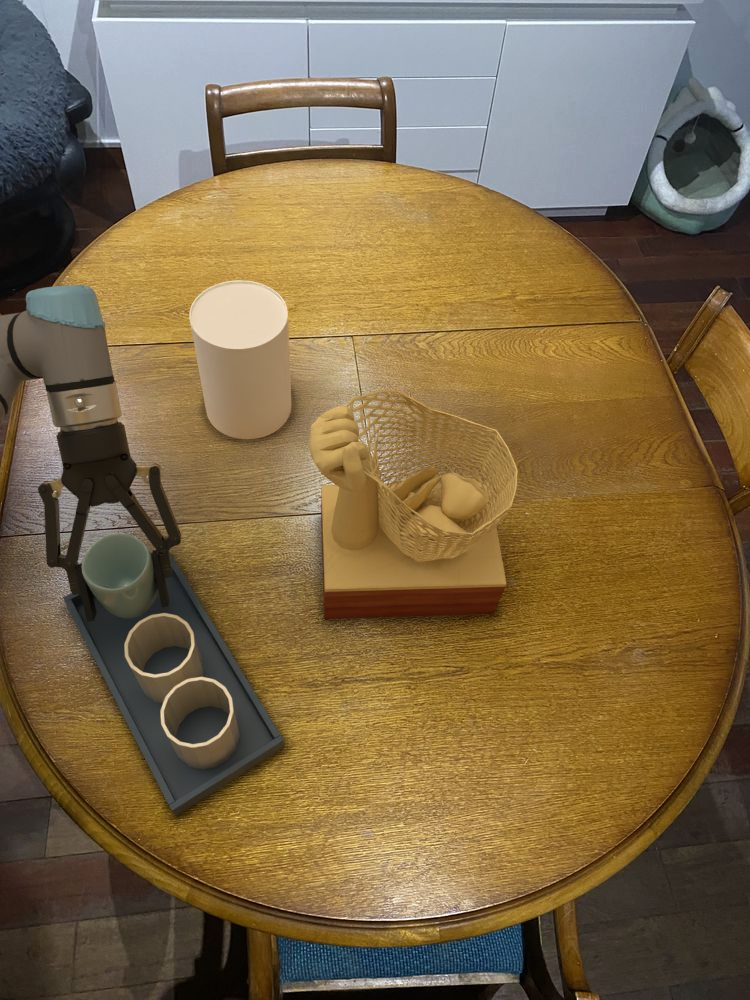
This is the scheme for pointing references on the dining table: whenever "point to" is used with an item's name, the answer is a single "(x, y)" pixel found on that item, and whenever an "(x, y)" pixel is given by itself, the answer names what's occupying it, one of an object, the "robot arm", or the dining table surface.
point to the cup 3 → (186, 701)
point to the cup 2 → (155, 637)
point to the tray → (144, 714)
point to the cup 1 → (121, 575)
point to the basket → (409, 515)
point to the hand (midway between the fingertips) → (128, 610)
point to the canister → (243, 357)
